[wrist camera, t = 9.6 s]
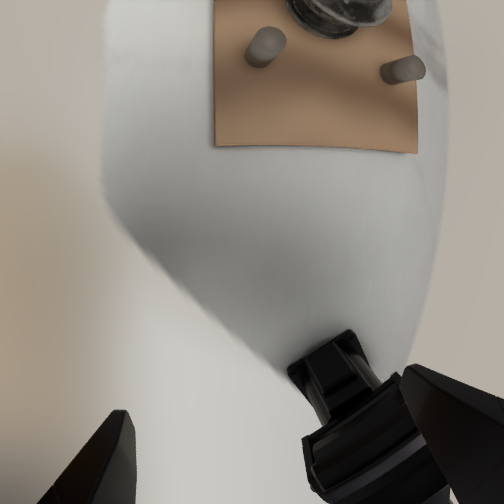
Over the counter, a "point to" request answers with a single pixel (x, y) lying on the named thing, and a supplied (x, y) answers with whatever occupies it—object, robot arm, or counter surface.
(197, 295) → the counter surface
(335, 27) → the dark grey turned piece
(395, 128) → the peg board
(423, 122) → the counter surface
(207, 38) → the counter surface
